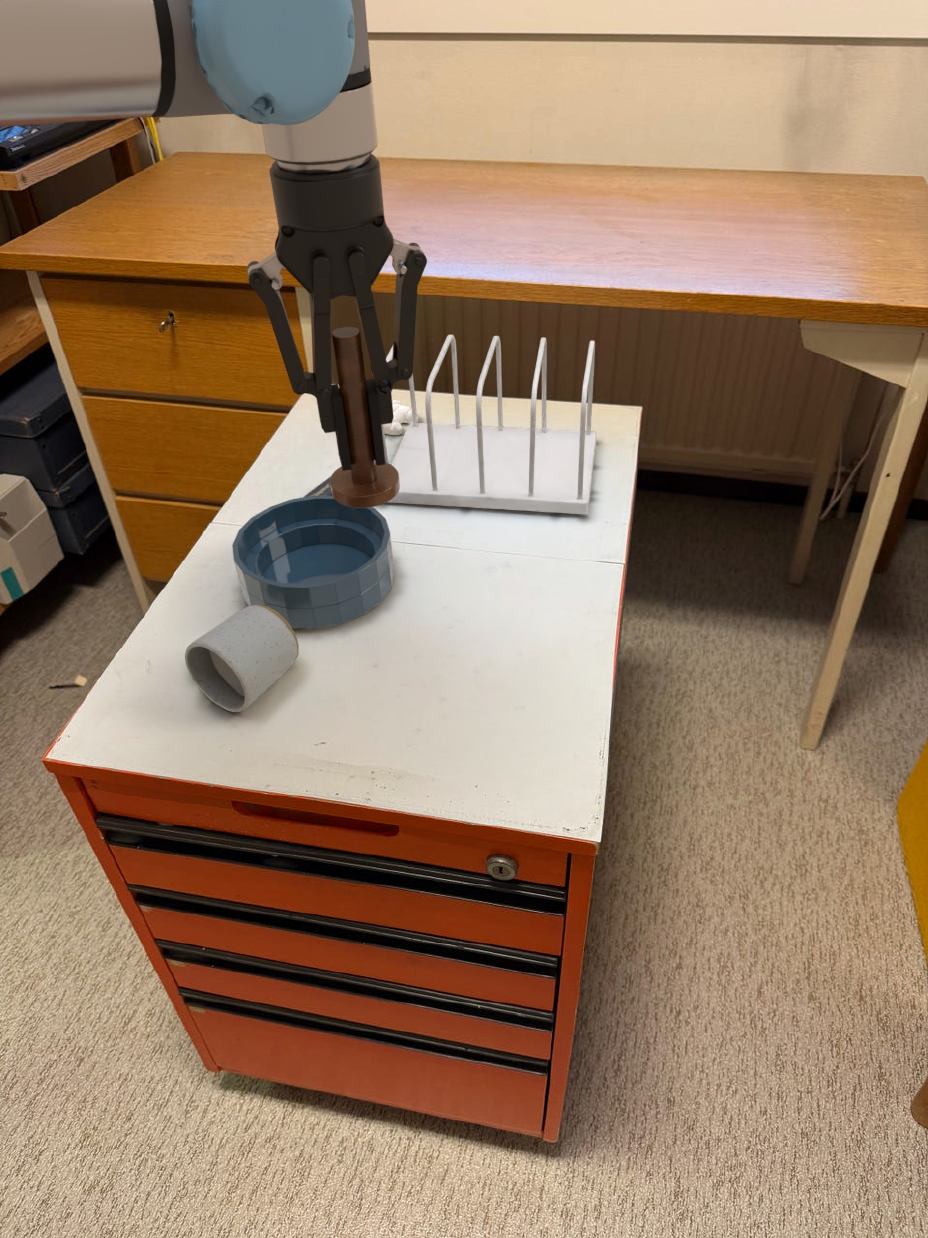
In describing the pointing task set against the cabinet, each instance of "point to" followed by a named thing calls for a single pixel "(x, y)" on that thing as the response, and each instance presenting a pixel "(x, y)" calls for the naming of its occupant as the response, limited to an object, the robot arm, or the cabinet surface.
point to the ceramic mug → (242, 656)
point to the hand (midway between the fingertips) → (361, 459)
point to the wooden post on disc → (358, 431)
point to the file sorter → (497, 451)
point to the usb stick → (321, 489)
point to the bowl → (315, 561)
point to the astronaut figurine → (399, 418)
